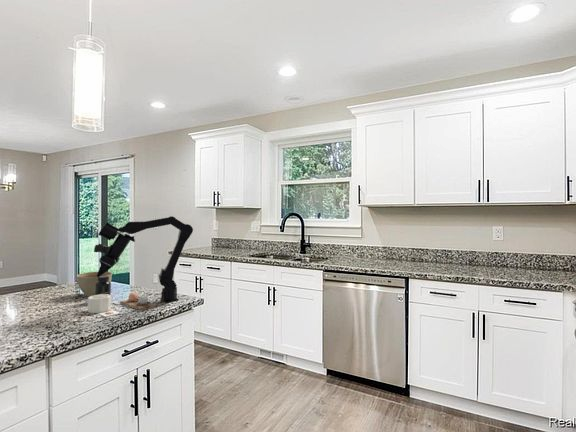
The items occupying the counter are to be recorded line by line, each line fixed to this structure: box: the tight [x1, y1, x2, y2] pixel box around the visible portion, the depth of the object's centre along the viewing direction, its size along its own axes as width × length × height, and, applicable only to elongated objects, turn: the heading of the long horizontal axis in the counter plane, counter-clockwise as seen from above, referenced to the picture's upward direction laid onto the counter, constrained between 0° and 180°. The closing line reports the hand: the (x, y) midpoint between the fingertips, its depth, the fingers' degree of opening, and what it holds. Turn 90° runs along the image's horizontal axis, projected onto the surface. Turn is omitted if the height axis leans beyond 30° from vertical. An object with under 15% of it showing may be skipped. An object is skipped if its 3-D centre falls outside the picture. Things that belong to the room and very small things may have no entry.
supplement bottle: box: [95, 276, 112, 296], centre depth 161 cm, size 7×7×12 cm
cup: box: [87, 294, 112, 314], centre depth 145 cm, size 8×8×6 cm
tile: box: [98, 310, 120, 318], centre depth 140 cm, size 6×6×1 cm
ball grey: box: [138, 295, 149, 305], centre depth 152 cm, size 4×4×4 cm
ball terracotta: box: [128, 292, 139, 301], centre depth 157 cm, size 4×4×4 cm
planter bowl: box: [76, 271, 113, 298], centre depth 173 cm, size 16×16×11 cm
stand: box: [119, 298, 158, 311], centre depth 154 cm, size 8×18×2 cm, turn 53°
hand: (99, 275), depth 150 cm, fingers open, 9 cm apart
